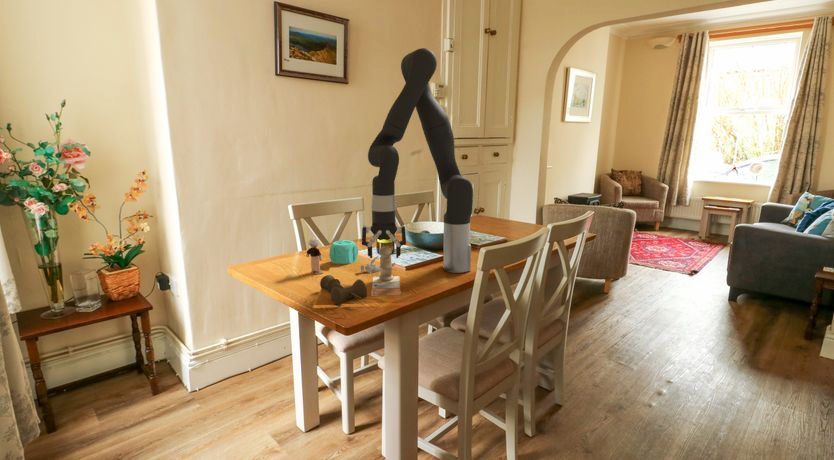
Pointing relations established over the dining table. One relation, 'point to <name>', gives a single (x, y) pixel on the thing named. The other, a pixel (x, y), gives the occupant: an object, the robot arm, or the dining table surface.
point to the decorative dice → (343, 252)
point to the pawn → (385, 264)
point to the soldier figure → (372, 267)
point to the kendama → (343, 289)
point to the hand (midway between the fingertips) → (384, 257)
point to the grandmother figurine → (314, 256)
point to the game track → (379, 291)
